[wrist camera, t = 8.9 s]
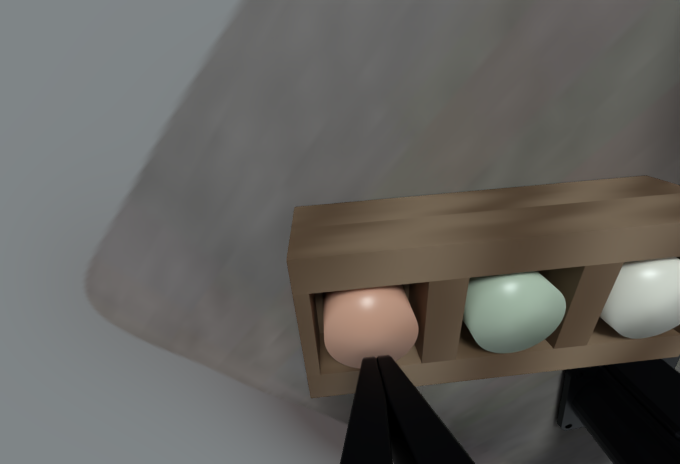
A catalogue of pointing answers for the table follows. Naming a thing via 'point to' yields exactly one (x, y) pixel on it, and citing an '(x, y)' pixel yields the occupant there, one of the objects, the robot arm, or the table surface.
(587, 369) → the robot arm
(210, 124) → the table surface
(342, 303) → the peach oval piece
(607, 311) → the white rounded piece
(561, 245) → the wooden egg tray
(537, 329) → the sage egg
